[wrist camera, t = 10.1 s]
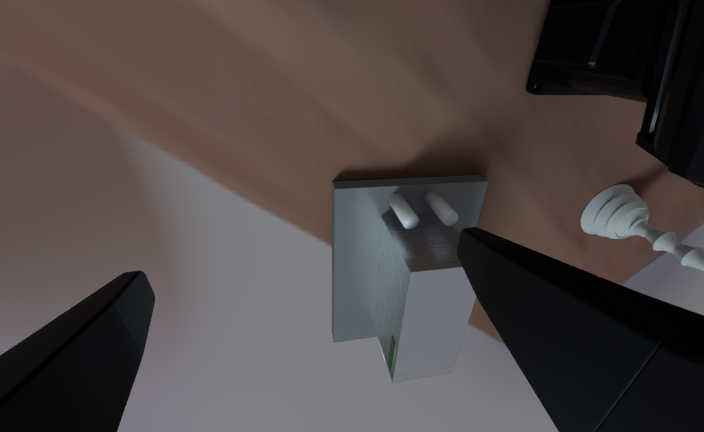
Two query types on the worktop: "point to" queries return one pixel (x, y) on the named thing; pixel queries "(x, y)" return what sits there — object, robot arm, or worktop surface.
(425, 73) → the worktop surface
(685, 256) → the chalice
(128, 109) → the worktop surface
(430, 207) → the grey peg plate
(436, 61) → the worktop surface
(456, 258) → the block
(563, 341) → the robot arm
